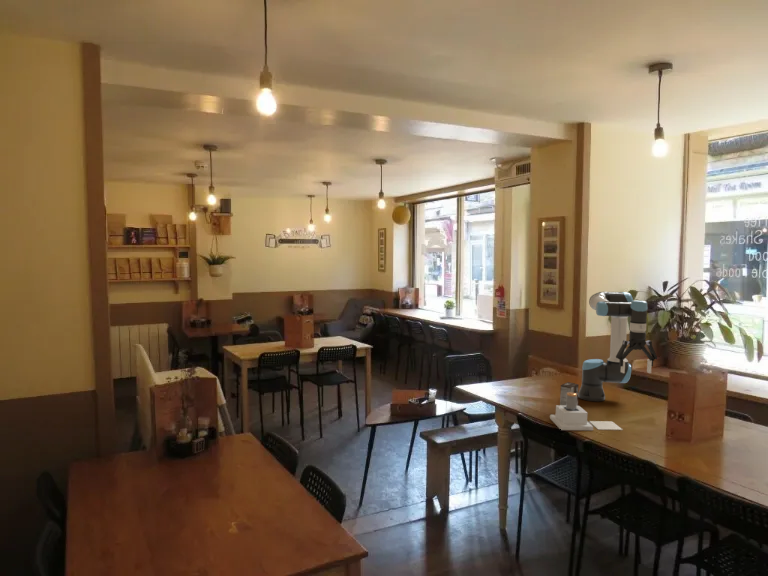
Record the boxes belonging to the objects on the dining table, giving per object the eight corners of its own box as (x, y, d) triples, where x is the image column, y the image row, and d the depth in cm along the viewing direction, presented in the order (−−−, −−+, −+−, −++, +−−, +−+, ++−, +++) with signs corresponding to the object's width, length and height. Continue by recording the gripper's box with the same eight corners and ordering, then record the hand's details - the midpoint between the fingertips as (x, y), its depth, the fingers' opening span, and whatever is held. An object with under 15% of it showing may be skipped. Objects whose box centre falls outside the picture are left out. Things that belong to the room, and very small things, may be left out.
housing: (549, 418, 279) (550, 403, 279) (580, 418, 279) (580, 403, 278) (560, 430, 261) (561, 414, 261) (593, 430, 261) (593, 414, 260)
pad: (589, 421, 274) (589, 421, 274) (612, 422, 274) (612, 421, 274) (598, 429, 262) (598, 429, 262) (622, 430, 262) (622, 429, 262)
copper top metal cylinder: (564, 418, 272) (565, 392, 271) (574, 418, 272) (575, 392, 271) (567, 421, 267) (568, 394, 266) (577, 422, 267) (578, 395, 266)
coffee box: (566, 410, 293) (568, 381, 292) (578, 412, 289) (579, 384, 288) (559, 413, 287) (560, 384, 286) (570, 416, 283) (571, 387, 281)
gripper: (616, 332, 261) (614, 374, 263) (666, 332, 262) (664, 374, 263) (610, 329, 268) (608, 370, 270) (658, 330, 269) (655, 370, 271)
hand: (635, 372), depth 267 cm, fingers open, 13 cm apart
